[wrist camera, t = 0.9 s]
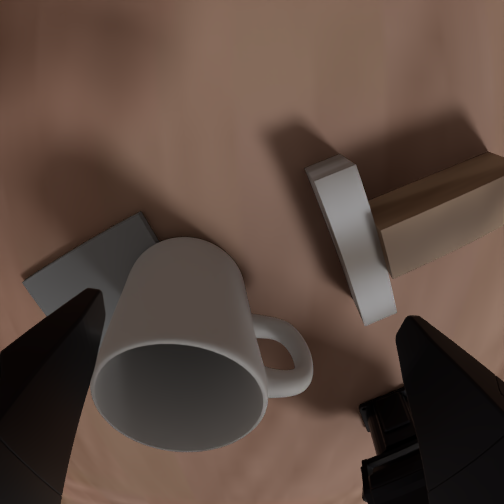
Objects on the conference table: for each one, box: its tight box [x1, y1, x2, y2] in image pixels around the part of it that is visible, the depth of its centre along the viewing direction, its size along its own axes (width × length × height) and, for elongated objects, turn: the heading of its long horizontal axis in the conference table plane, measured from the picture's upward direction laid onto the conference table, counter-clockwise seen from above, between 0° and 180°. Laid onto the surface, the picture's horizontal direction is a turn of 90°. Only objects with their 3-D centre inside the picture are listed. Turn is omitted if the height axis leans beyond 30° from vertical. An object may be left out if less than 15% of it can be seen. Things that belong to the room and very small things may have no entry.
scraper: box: [304, 152, 504, 326], centre depth 19 cm, size 11×14×4 cm
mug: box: [90, 237, 313, 452], centre depth 19 cm, size 12×8×11 cm
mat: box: [22, 211, 159, 352], centre depth 25 cm, size 15×14×1 cm
